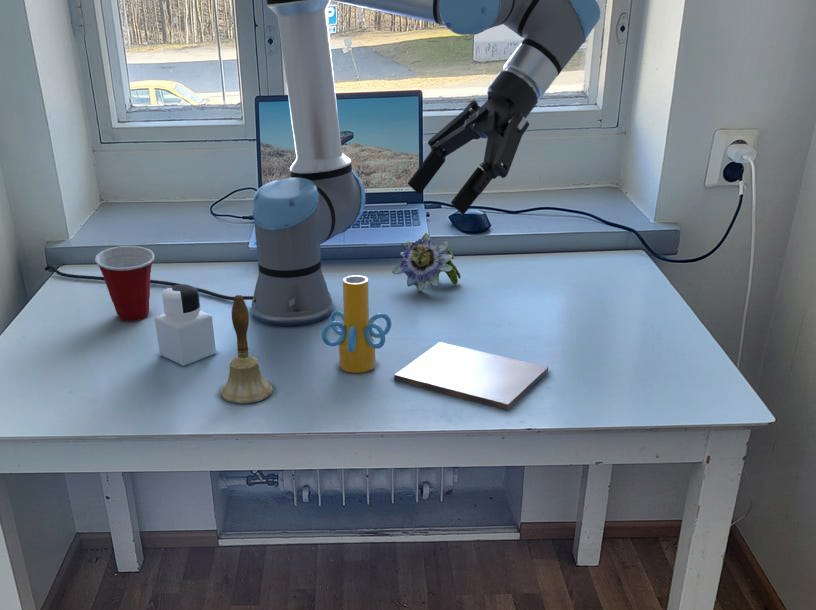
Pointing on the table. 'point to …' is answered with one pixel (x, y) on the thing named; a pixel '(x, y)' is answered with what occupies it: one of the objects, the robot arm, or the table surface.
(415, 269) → the passion flower
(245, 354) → the hand bell
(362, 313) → the cylinder
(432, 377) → the plate
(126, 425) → the table surface
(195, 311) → the medicine bottle
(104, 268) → the plastic cup
